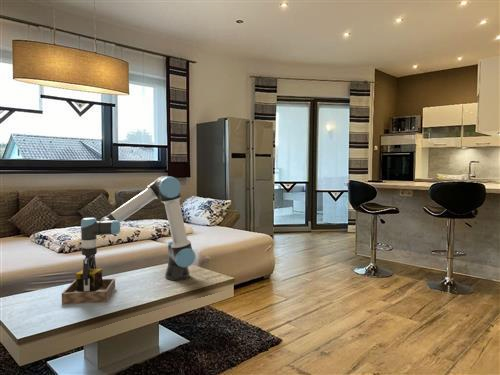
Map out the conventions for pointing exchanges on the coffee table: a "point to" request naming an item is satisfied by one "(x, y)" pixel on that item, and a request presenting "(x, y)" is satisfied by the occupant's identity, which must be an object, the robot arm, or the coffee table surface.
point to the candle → (95, 280)
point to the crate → (88, 293)
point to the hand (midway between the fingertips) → (89, 287)
